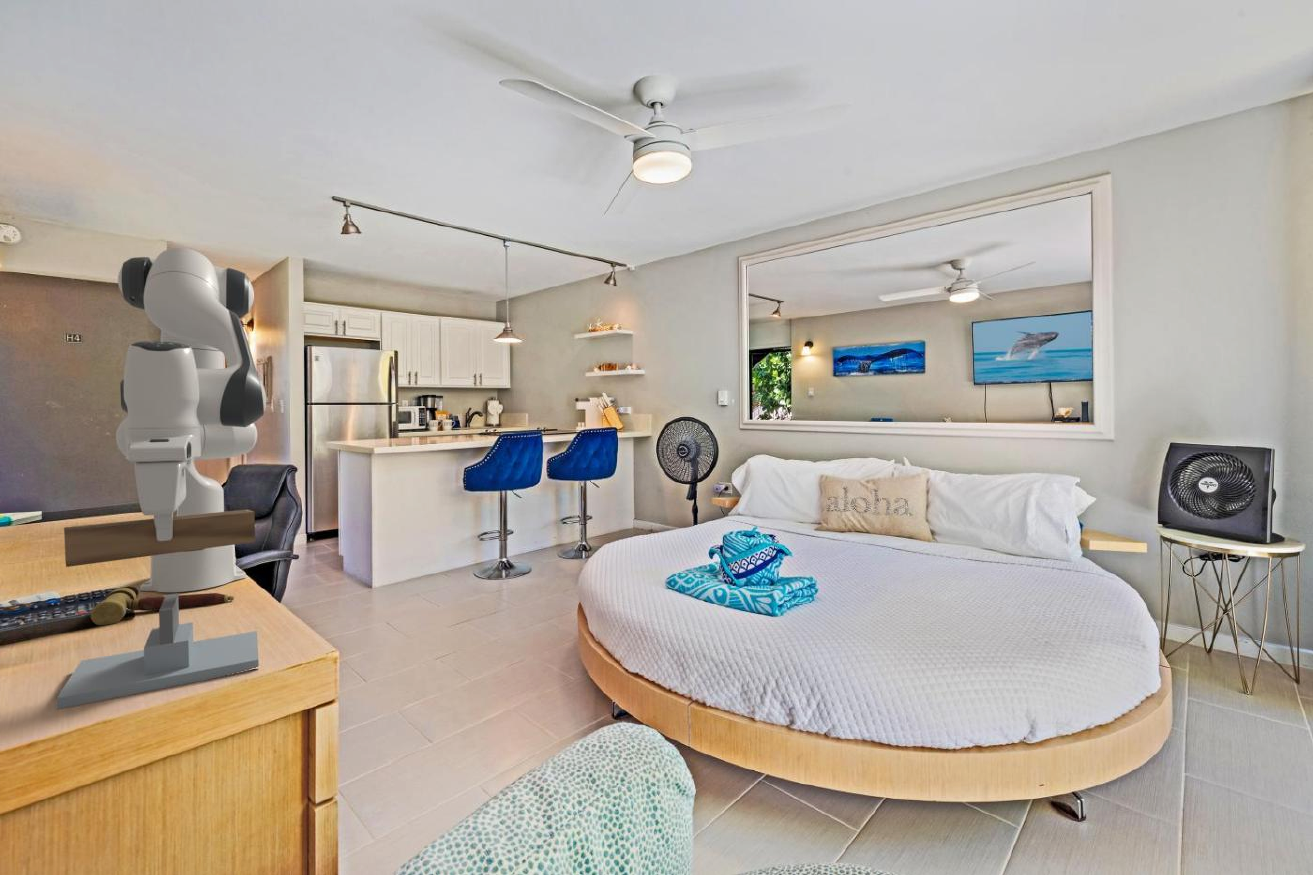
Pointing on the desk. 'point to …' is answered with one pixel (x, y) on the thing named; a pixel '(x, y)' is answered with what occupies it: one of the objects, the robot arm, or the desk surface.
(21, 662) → the desk surface
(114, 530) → the bar
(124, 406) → the robot arm
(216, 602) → the gavel
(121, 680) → the ridge stand
